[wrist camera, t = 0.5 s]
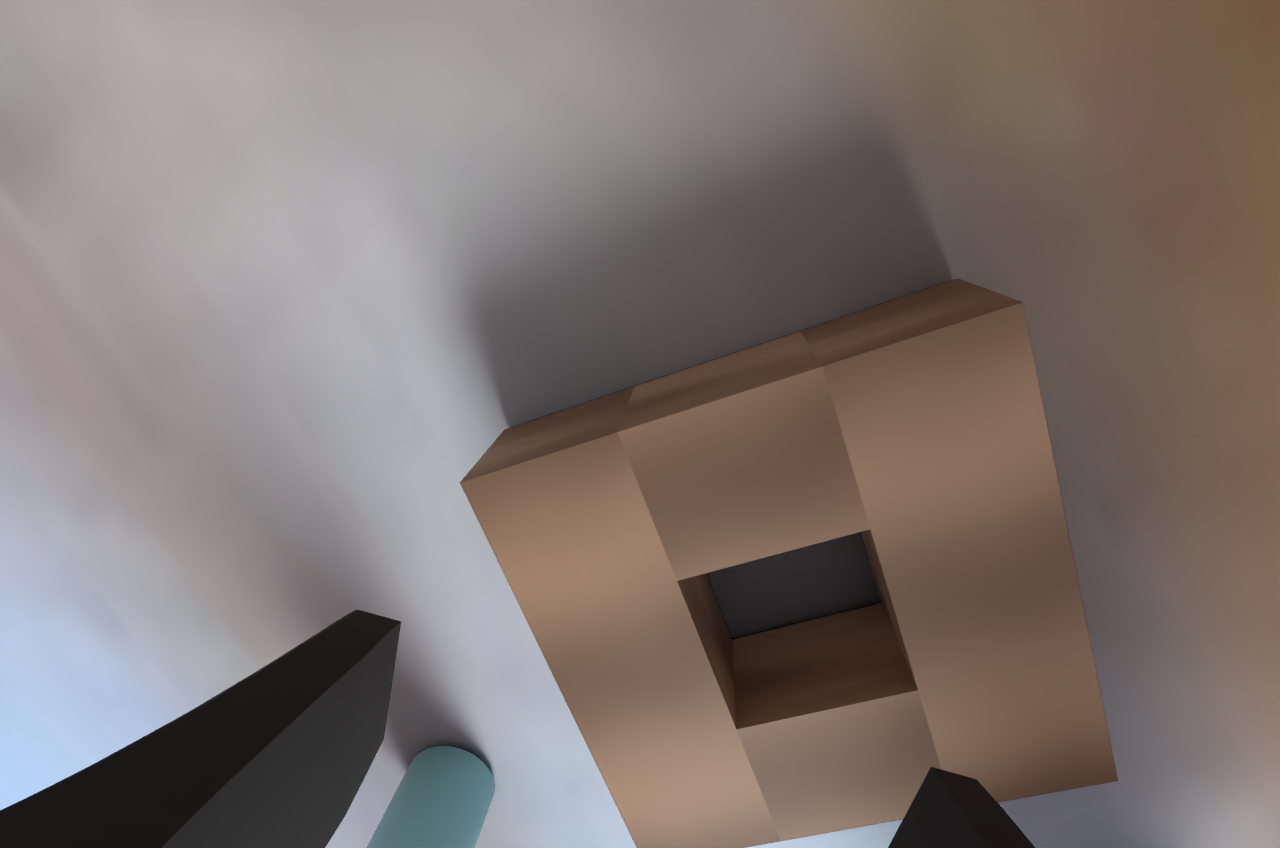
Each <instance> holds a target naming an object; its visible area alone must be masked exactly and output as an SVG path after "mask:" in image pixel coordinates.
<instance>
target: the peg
mask: <svg viewBox="0 0 1280 848" xmlns="http://www.w3.org/2000/svg"><path fill="white" fill-rule="evenodd" d="M494 790H495V784H494V779H493V776H492V774H491V772H490V770H489V769H488V767H487V766H486V765H485V764H484V763H483V762H482V761H481V760H480V759H479V758H478V757H476V756H475V755H473V754H471V753H470V752H467V751H465V750H463V749H460V748H456V747H451V746H436V747H431V748H428V749H425V750H423V751H421V752H420V753H418V754H417V755H416V756H415V757H414V759H413V760H412V762H411V763H410V765H409V767H408V769H407V771H406V773H405V775H404V777H403V779H402V781H401V783H400V785H399V787H398V789H397V790H396V792H395V794H394V796H393V798H392V800H391V802H390V804H389V806H388V808H387V810H386V812H385V814H384V815H383V817H382V819H381V821H380V823H379V825H378V827H377V829H376V831H375V833H374V835H373V837H372V839H371V841H370V842H369V844H368V846H367V848H475V845H476V842H477V839H478V837H479V834H480V831H481V828H482V825H483V823H484V820H485V817H486V814H487V811H488V809H489V806H490V803H491V800H492V797H493V795H494Z"/></svg>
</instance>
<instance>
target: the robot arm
mask: <svg viewBox="0 0 1280 848" xmlns="http://www.w3.org/2000/svg"><path fill="white" fill-rule="evenodd" d="M400 625H401V622H400V621H397V620H393V619H389V618H386V617H382V616H378V615H375V614H371V613H368V612H364V611H360V610H355V611H353V612H351V613H350V614H348V615H346V616H344V617H343V618H341V619H340V620H338V621H336V622H335V623H333V624H332V625H330V626H328V627H327V628H325V629H324V630H322V631H320V632H319V633H317V634H316V635H314V636H313V637H311V638H309V639H308V640H306V641H305V642H303V643H302V644H300V645H298V646H297V647H295V648H294V649H292V650H291V651H289V652H287V653H286V654H284V655H283V656H281V657H279V658H278V659H276V660H274V661H273V662H271V663H270V664H268V665H266V666H265V667H263V668H262V669H260V670H258V671H257V672H255V673H253V674H252V675H250V676H248V677H247V678H245V679H243V680H242V681H240V682H238V683H237V684H235V685H233V686H232V687H230V688H228V689H227V690H225V691H223V692H222V693H220V694H218V695H217V696H215V697H213V698H212V699H210V700H208V701H206V702H205V703H203V704H201V705H200V706H198V707H196V708H195V709H193V710H191V711H189V712H188V713H186V714H184V715H183V716H181V717H179V718H177V719H176V720H174V721H172V722H170V723H168V724H166V725H165V726H163V727H161V728H159V729H157V730H155V731H154V732H152V733H150V734H148V735H146V736H144V737H143V738H141V739H139V740H137V741H135V742H133V743H132V744H130V745H128V746H126V747H124V748H122V749H121V750H119V751H117V752H115V753H113V754H111V755H110V756H108V757H106V758H104V759H102V760H100V761H99V762H97V763H95V764H93V765H91V766H89V767H87V768H85V769H83V770H81V771H79V772H77V773H75V774H73V775H71V776H70V777H68V778H66V779H64V780H62V781H60V782H58V783H56V784H54V785H52V786H50V787H48V788H46V789H44V790H42V791H40V792H38V793H36V794H34V795H32V796H30V797H28V798H26V799H24V800H21V801H19V802H17V803H15V804H13V805H11V806H9V807H7V808H5V809H3V810H0V848H325V847H326V845H327V844H328V842H329V841H330V839H331V837H332V836H333V834H334V833H335V831H336V829H337V828H338V826H339V825H340V823H341V821H342V820H343V818H344V817H345V815H346V813H347V811H348V809H349V807H350V805H351V803H352V801H353V799H354V797H355V795H356V793H357V791H358V789H359V787H360V785H361V784H362V782H363V780H364V778H365V776H366V774H367V772H368V769H369V767H370V765H371V763H372V761H373V759H374V757H375V755H376V753H377V751H378V749H379V747H380V745H381V743H382V741H383V739H384V733H385V727H386V720H387V713H388V706H389V700H390V693H391V686H392V679H393V673H394V666H395V659H396V652H397V646H398V639H399V632H400ZM888 848H1035V847H1034V846H1033V845H1032V843H1031V842H1030V841H1029V840H1028V839H1027V837H1026V836H1025V835H1024V834H1023V832H1022V831H1021V830H1020V829H1019V828H1018V826H1017V825H1016V824H1015V823H1014V822H1013V820H1012V819H1011V818H1010V817H1009V816H1008V815H1007V813H1006V812H1005V811H1004V810H1003V809H1002V807H1001V806H1000V805H999V804H998V803H997V802H996V800H995V799H994V798H993V797H992V796H991V795H990V794H989V792H988V791H987V790H986V789H985V788H984V787H983V786H982V785H981V784H980V782H979V781H978V780H977V779H974V778H970V777H967V776H963V775H959V774H956V773H952V772H948V771H945V770H941V769H938V768H934V767H931V768H930V770H929V771H928V773H927V775H926V777H925V779H924V781H923V783H922V785H921V787H920V788H919V790H918V792H917V794H916V796H915V798H914V800H913V802H912V804H911V805H910V807H909V809H908V811H907V813H906V815H905V817H904V819H903V821H902V823H901V824H900V826H899V828H898V830H897V832H896V834H895V836H894V838H893V840H892V841H891V843H890V845H889V847H888Z"/></svg>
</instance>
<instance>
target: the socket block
mask: <svg viewBox="0 0 1280 848" xmlns="http://www.w3.org/2000/svg"><path fill="white" fill-rule="evenodd" d="M460 484H461V486H462V488H463V490H464V492H465V494H466V496H467V498H468V500H469V502H470V505H471V507H472V509H473V511H474V513H475V515H476V517H477V519H478V521H479V523H480V525H481V527H482V529H483V531H484V533H485V535H486V538H487V540H488V542H489V544H490V546H491V548H492V550H493V552H494V554H495V556H496V558H497V560H498V562H499V564H500V566H501V569H502V571H503V573H504V575H505V577H506V579H507V581H508V583H509V585H510V587H511V589H512V591H513V593H514V595H515V597H516V599H517V602H518V604H519V606H520V608H521V610H522V612H523V614H524V616H525V618H526V620H527V622H528V624H529V626H530V628H531V630H532V633H533V635H534V637H535V639H536V641H537V643H538V645H539V647H540V649H541V651H542V653H543V655H544V657H545V659H546V661H547V663H548V666H549V668H550V670H551V672H552V674H553V676H554V678H555V680H556V682H557V684H558V686H559V688H560V690H561V692H562V694H563V696H564V699H565V701H566V703H567V705H568V707H569V709H570V711H571V713H572V715H573V717H574V719H575V721H576V723H577V725H578V727H579V730H580V732H581V734H582V736H583V738H584V740H585V742H586V744H587V746H588V748H589V750H590V752H591V754H592V756H593V758H594V760H595V763H596V765H597V767H598V769H599V771H600V773H601V775H602V777H603V779H604V781H605V783H606V785H607V787H608V789H609V791H610V794H611V796H612V798H613V800H614V802H615V804H616V806H617V808H618V810H619V812H620V814H621V816H622V818H623V820H624V822H625V824H626V827H627V829H628V831H629V833H630V835H631V837H632V839H633V841H634V843H635V845H636V847H637V848H745V847H751V846H756V845H762V844H768V843H773V842H779V841H784V840H790V839H795V838H801V837H807V836H812V835H818V834H823V833H829V832H835V831H840V830H846V829H851V828H857V827H862V826H868V825H874V824H879V823H885V822H890V821H896V820H901V819H904V817H905V815H906V813H907V811H908V809H909V807H910V805H911V804H912V802H913V800H914V798H915V796H916V794H917V792H918V790H919V788H920V787H921V785H922V783H923V781H924V779H925V777H926V775H927V773H928V771H929V770H930V768H931V767H934V768H938V769H941V770H945V771H948V772H952V773H956V774H959V775H963V776H967V777H970V778H974V779H977V780H978V781H979V782H980V784H981V785H982V786H983V787H984V788H985V789H986V790H987V791H988V792H989V794H990V795H991V796H992V797H993V798H994V799H995V800H996V802H1002V801H1007V800H1013V799H1019V798H1024V797H1030V796H1035V795H1041V794H1046V793H1052V792H1058V791H1063V790H1069V789H1074V788H1080V787H1086V786H1091V785H1097V784H1102V783H1108V782H1113V781H1118V779H1117V774H1116V769H1115V764H1114V759H1113V754H1112V749H1111V744H1110V739H1109V734H1108V729H1107V724H1106V719H1105V714H1104V709H1103V703H1102V698H1101V693H1100V688H1099V683H1098V678H1097V673H1096V668H1095V663H1094V658H1093V653H1092V648H1091V643H1090V638H1089V633H1088V628H1087V623H1086V618H1085V613H1084V608H1083V603H1082V598H1081V593H1080V588H1079V583H1078V578H1077V573H1076V568H1075V563H1074V558H1073V553H1072V548H1071V543H1070V538H1069V533H1068V528H1067V523H1066V518H1065V513H1064V508H1063V503H1062V498H1061V493H1060V488H1059V483H1058V478H1057V473H1056V468H1055V463H1054V458H1053V453H1052V448H1051V443H1050V438H1049V433H1048V428H1047V423H1046V418H1045V413H1044V408H1043V403H1042V398H1041V393H1040V388H1039V383H1038V378H1037V373H1036V368H1035V363H1034V358H1033V353H1032V348H1031V343H1030V338H1029V333H1028V328H1027V323H1026V318H1025V313H1024V308H1023V303H1022V302H1020V301H1017V300H1015V299H1012V298H1009V297H1006V296H1004V295H1001V294H998V293H995V292H993V291H990V290H987V289H984V288H982V287H979V286H976V285H974V284H971V283H968V282H965V281H963V280H960V279H955V280H952V281H949V282H946V283H943V284H940V285H937V286H934V287H931V288H928V289H925V290H922V291H919V292H916V293H913V294H910V295H907V296H904V297H901V298H898V299H895V300H892V301H889V302H886V303H883V304H880V305H877V306H874V307H871V308H868V309H865V310H862V311H859V312H856V313H853V314H850V315H847V316H844V317H841V318H838V319H835V320H832V321H829V322H826V323H823V324H820V325H817V326H814V327H811V328H808V329H805V330H802V331H799V332H796V333H793V334H790V335H787V336H784V337H781V338H778V339H775V340H772V341H769V342H766V343H763V344H760V345H757V346H754V347H751V348H748V349H745V350H742V351H739V352H736V353H733V354H730V355H727V356H724V357H721V358H718V359H715V360H712V361H709V362H706V363H703V364H700V365H697V366H694V367H691V368H688V369H685V370H682V371H679V372H676V373H673V374H670V375H667V376H664V377H661V378H658V379H655V380H652V381H649V382H646V383H643V384H640V385H637V386H634V387H631V388H628V389H625V390H622V391H619V392H616V393H613V394H610V395H607V396H604V397H601V398H598V399H595V400H592V401H589V402H586V403H583V404H580V405H577V406H574V407H571V408H568V409H565V410H562V411H559V412H556V413H553V414H550V415H547V416H544V417H541V418H538V419H535V420H532V421H529V422H526V423H523V424H520V425H517V426H514V427H511V428H508V429H505V430H504V431H503V432H502V433H501V435H500V436H499V437H498V438H497V439H496V441H495V442H494V443H493V444H492V445H491V447H490V448H489V449H488V450H487V451H486V452H485V454H484V455H483V456H482V457H481V458H480V460H479V461H478V462H477V463H476V464H475V465H474V467H473V468H472V469H471V470H470V471H469V473H468V474H467V475H466V476H465V477H464V478H463V480H462V481H461V482H460ZM858 532H861V536H862V539H863V542H864V546H865V549H866V552H867V556H868V559H869V562H870V566H871V569H872V572H873V576H874V579H875V582H876V586H877V589H878V592H879V595H880V599H881V602H882V603H880V604H876V605H872V606H868V607H864V608H859V609H855V610H851V611H847V612H843V613H839V614H835V615H831V616H827V617H823V618H819V619H814V620H810V621H806V622H802V623H798V624H794V625H790V626H786V627H782V628H778V629H774V630H769V631H765V632H761V633H757V634H753V635H749V636H745V637H741V638H737V639H733V640H732V639H731V636H730V634H729V631H728V628H727V626H726V623H725V621H724V618H723V615H722V613H721V610H720V608H719V605H718V602H717V600H716V597H715V595H714V592H713V589H712V587H711V584H710V582H709V579H708V576H707V574H706V573H709V572H713V571H716V570H720V569H724V568H728V567H731V566H735V565H739V564H742V563H746V562H750V561H754V560H757V559H761V558H765V557H769V556H772V555H776V554H780V553H784V552H787V551H791V550H795V549H799V548H802V547H806V546H810V545H814V544H817V543H821V542H825V541H828V540H832V539H836V538H840V537H843V536H847V535H851V534H855V533H858Z"/></svg>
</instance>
